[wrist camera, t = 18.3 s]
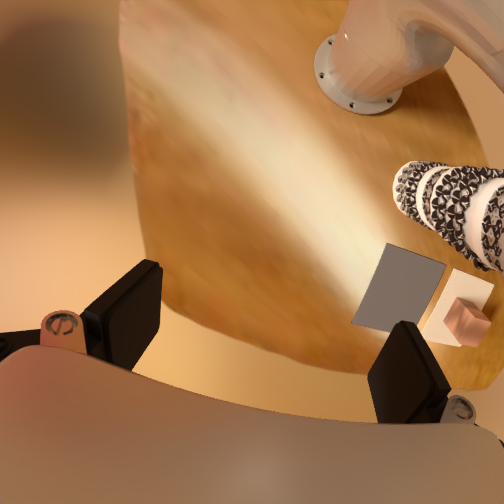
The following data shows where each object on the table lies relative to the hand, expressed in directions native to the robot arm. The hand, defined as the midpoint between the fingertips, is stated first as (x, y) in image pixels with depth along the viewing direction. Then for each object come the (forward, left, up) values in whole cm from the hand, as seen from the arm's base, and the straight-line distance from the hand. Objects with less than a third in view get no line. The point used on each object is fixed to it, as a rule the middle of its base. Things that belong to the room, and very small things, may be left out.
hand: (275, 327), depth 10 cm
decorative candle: (-8, +18, -30) cm, 36 cm away
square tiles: (+8, +29, -29) cm, 42 cm away
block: (+8, +36, -29) cm, 47 cm away
